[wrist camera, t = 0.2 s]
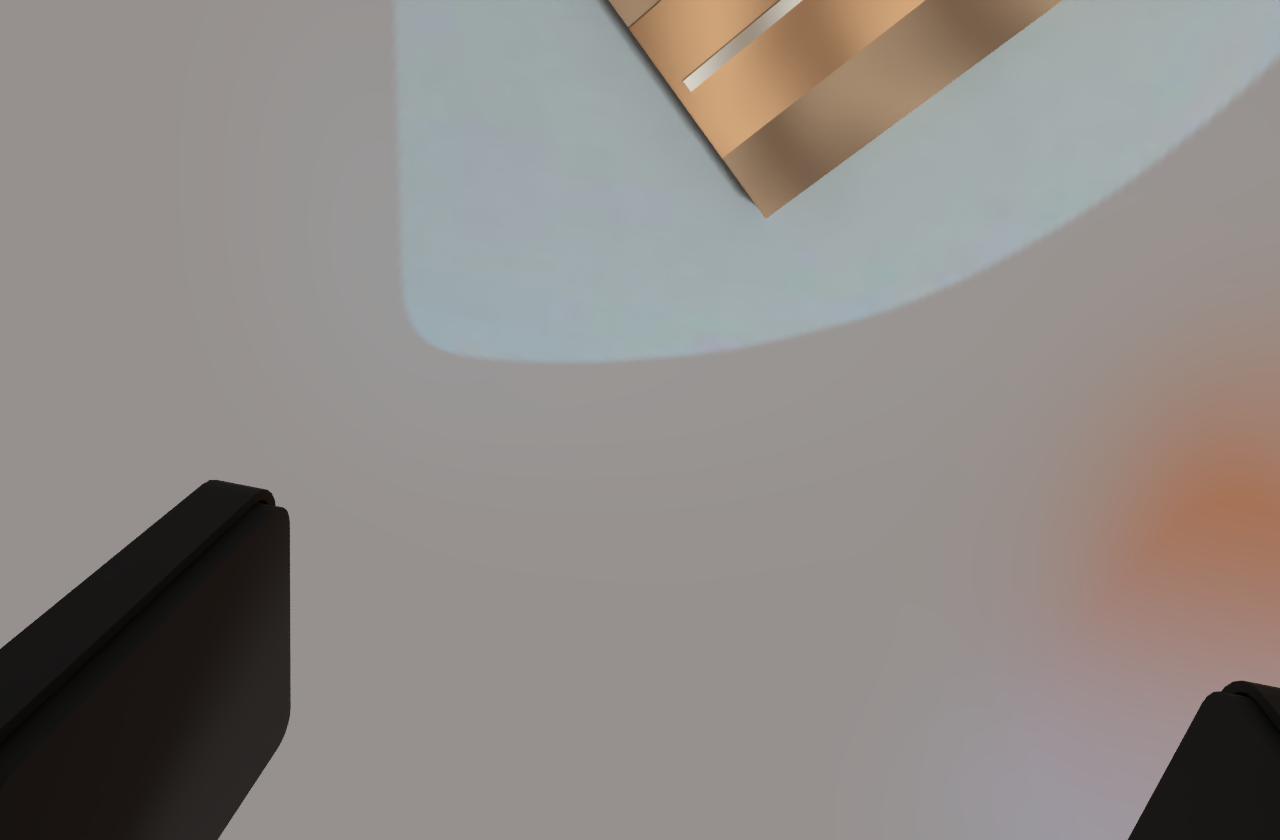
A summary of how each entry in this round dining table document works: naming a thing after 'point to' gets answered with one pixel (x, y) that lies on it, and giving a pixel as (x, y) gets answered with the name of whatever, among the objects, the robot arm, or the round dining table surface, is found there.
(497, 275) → the round dining table surface
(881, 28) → the board
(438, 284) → the round dining table surface
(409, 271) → the round dining table surface
